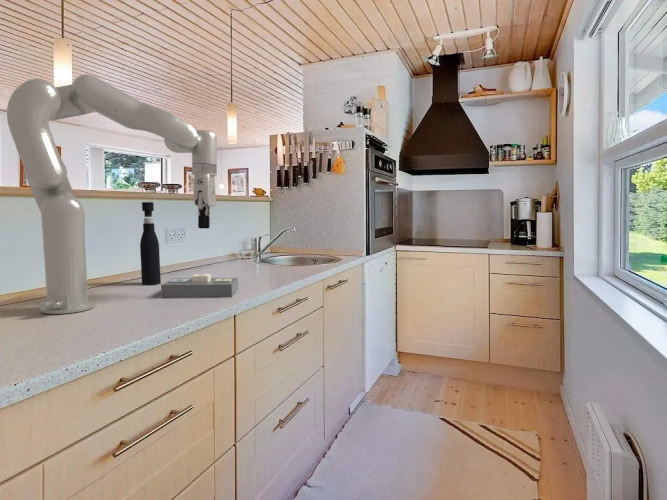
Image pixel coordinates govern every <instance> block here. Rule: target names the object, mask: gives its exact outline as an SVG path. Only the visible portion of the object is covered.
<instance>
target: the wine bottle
mask: <svg viewBox="0 0 667 500" xmlns="http://www.w3.org/2000/svg"><path fill="white" fill-rule="evenodd" d="M154 206H155V205H154V202H153V201H141V212H144V214H143V215H144V218H143V224H142V228H143V232H142V235H141V237H140V242H139V243H140V244H139V248H140V249H139V251H140V274H141V285H143V286H156V285H160V284H161V283H162V282H161V281H162V280H161V278H162V277H161V263H160V261H161V260H160V259H161V258H160V256H161V255H160V244H159V243H160V242H159V239H158V236H157V233H156V231H155V223H154V218H153V213H152V212H154V211H155V209H154Z"/></svg>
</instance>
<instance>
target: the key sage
mask: <svg viewBox="0 0 667 500" xmlns="http://www.w3.org/2000/svg"><path fill="white" fill-rule="evenodd" d="M229 278H230V279H216V280H215V281H214V283H222V282H232V278H233V277H229Z"/></svg>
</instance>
